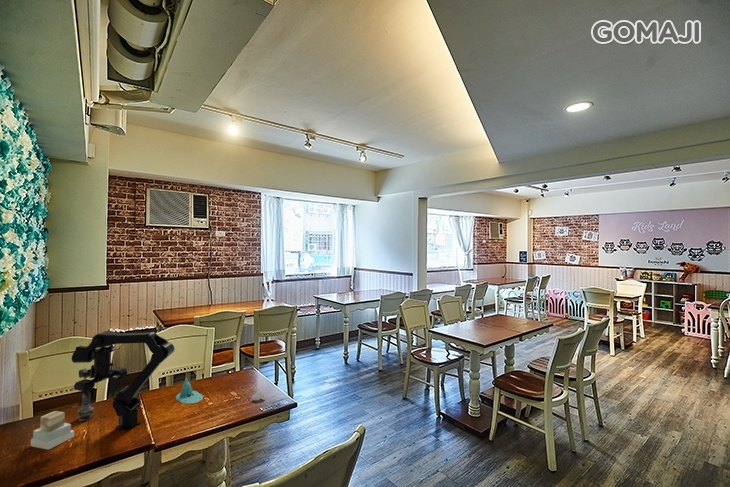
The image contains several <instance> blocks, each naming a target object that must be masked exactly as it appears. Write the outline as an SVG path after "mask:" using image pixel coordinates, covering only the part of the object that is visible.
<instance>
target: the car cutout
mask: <svg viewBox="0 0 730 487" xmlns="http://www.w3.org/2000/svg"><path fill="white" fill-rule="evenodd" d="M265 396H266V395H265V394H264V393H262V392H261V391H257V392H255V393H254V394H252V395H251V400H252V401H253V400H254V401H257V400H256V399H262V398H265V399H266V397H265Z"/></svg>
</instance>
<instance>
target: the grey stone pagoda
mask: <svg viewBox="0 0 730 487" xmlns="http://www.w3.org/2000/svg"><path fill="white" fill-rule="evenodd" d="M80 403H81V408H80V409H78V410H77V414H78V416H79V418H78V419H77V420H78V422H83V421H84V422H85V421H88V420H91V419H92V418H94V414H93V412H94V409H95V407H94V406H91V404H89V402H88V400H87V398H86V396H85V394H84V393H82V396H81V402H80Z"/></svg>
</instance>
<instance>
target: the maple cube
mask: <svg viewBox="0 0 730 487" xmlns="http://www.w3.org/2000/svg"><path fill="white" fill-rule="evenodd" d="M65 414H66V413H65V412H64V411H59V410H54V411H52V412H51V411H50V412H49V413H47V414H45V415H42V416H40V426H39V428H40V430H44V431H49V432H51V431H53V430H55V429H57V428H59V427H61V426H64V423H65V417H66V415H65Z"/></svg>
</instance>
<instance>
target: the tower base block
mask: <svg viewBox="0 0 730 487" xmlns="http://www.w3.org/2000/svg"><path fill="white" fill-rule="evenodd" d="M74 437H75V430H72V429H71V432H70V433H67V434H65V435H63V436H61V437H58V438H56V439H54V440H52V441H49V442H47V443H45V442H42V441H39V440H36V439H33V438H31V439H30V447H33V448H38V449H43V450H48V451H49V450H51V449H53V448H54V447H55V448H56V446H58V445H59V446H60V445H62V444H63V443H65V442H66V441H68V440H71V439H73V438H74Z"/></svg>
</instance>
